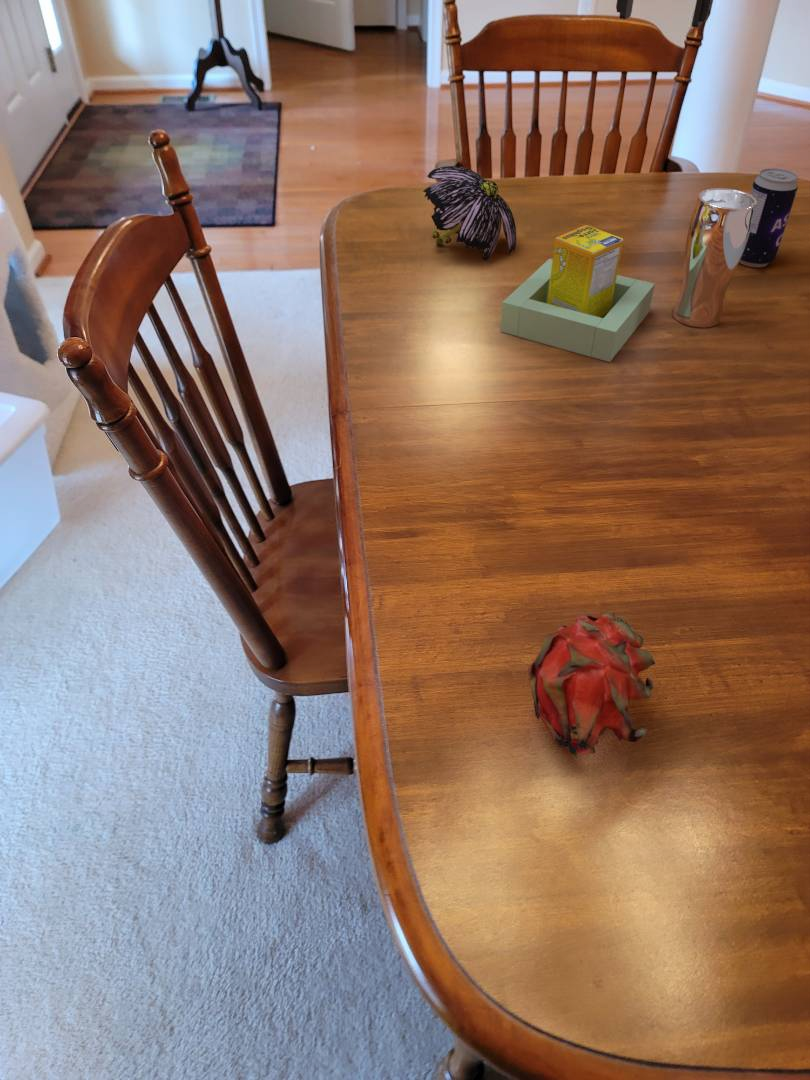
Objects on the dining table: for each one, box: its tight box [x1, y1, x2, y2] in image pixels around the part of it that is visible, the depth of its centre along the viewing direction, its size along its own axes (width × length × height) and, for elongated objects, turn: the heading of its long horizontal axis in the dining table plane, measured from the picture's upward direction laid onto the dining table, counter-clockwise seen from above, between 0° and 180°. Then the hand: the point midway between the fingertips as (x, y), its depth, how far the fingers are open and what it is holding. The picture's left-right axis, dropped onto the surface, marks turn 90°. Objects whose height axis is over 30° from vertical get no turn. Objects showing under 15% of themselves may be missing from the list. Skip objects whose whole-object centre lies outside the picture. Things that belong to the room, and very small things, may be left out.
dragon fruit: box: [527, 612, 656, 758], centre depth 59 cm, size 8×8×12 cm
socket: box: [499, 258, 656, 363], centre depth 104 cm, size 14×14×4 cm
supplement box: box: [547, 224, 624, 318], centre depth 102 cm, size 6×6×11 cm
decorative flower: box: [422, 165, 517, 262], centre depth 119 cm, size 15×12×15 cm
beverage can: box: [739, 167, 799, 268], centre depth 115 cm, size 6×6×12 cm
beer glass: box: [672, 187, 757, 329], centre depth 102 cm, size 7×7×15 cm
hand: (660, 21), depth 97 cm, fingers open, 8 cm apart
